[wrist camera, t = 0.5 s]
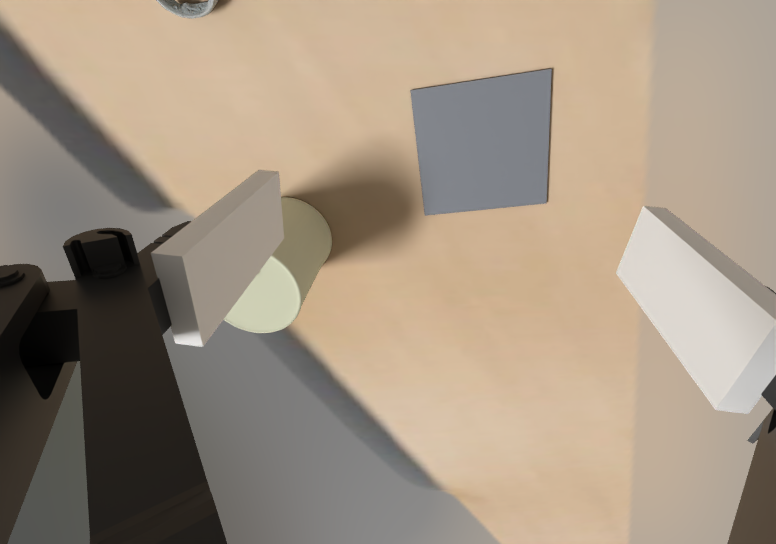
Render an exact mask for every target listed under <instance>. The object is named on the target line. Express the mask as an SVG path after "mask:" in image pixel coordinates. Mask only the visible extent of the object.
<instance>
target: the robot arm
mask: <svg viewBox="0 0 776 544" xmlns="http://www.w3.org/2000/svg"><path fill="white" fill-rule="evenodd" d="M283 239H284V230H283V217H282V205H281V192H280V179H279V172H277V171H266V170H258V171H257V172H255V173H254V174H253V175H251V176H250V177H249V178H248V179H246V180H245V181H244V182H242V183H241V184H240V185H238V186H237V187H236V188H235V189H233V190H232V191H231V192H229V193H228V194H227V195H225V196H224V197H223V198H222V199H220V200H219V201H218V202H216V203H215V204H214V205H212V206H211V207H210V208H209V209H207V210H206V211H205V212H203V213H202V214H201V215H199V216H198V217H197V218H196V219H194V220H193V221H187V222H185V223H182V224H180V225H177V226H175V227H172V228H171V229H170V230H168V231H167V232H166V233H164V234H163V235H162V237H159V238H157V239H156V240H155V241H154V243H151V244H149V245H148V246H147V247H145V248H144V249H143V250H141V251H140V252H139V253H137V251H136V248H135V245H134V241H133V238H132V235H131V233H130V232H129V231H127V230H124V229H120V228H103V229H95V230H91V231H86V232H83V233H80V234H78V235H75V236H73V237H71V238H70V239H68V240H67V241H66V242H65V243H64V245H63V248H64V250H65V253H66V255H67V258H68V261H69V263H70V266H71V268H72V271H73V273H74V276H75V279H76V280H70V281H57V282H56V281H55V282H47V281H46V279H45V277H44V275H43V272H42V270H41V269H40V268H39V267H38V266H35V265H30V264H15V265H9V266H8V265H4V266H0V544H7V543H8V540H9V537H10V535H11V532H12V530H13V527H14V524H15V522H16V519H17V517H18V514H19V512H20V509H21V506H22V504H23V501H24V498H25V496H26V493H27V491H28V488H29V486H30V483H31V480H32V478H33V475H34V472H35V470H36V467H37V465H38V462H39V459H40V457H41V454H42V452H43V449H44V447H45V444H46V441H47V439H48V436H49V434H50V431H51V428H52V426H53V423H54V420H55V418H56V415H57V413H58V410H59V408H60V405H61V402H62V400H63V397H64V395H65V392H66V389H67V387H68V384H69V381H70V378H71V376H72V374H73V371H74V368H75V366H76V363H77V361H80V366H81V367H80V368H81V386H82V402H83V419H84V420H83V421H84V439H85V456H86V474H87V491H88V509H89V525H90V526H89V527H90V544H227V542H226V538H225V535H224V532H223V529H222V525H221V522H220V519H219V516H218V512H217V509H216V506H215V503H214V500H213V497H212V494H211V492H210V488H209V485H208V482H207V479H206V476H205V472H204V469H203V466H202V463H201V459H200V457H199V453H198V450H197V447H196V443H195V440H194V437H193V433H192V430H191V427H190V424H189V421H188V418H187V414H186V411H185V408H184V405H183V401H182V398H181V395H180V391H179V388H178V385H177V382H176V379H175V375H174V372H173V369H172V366H171V362H170V359H169V356H168V353H167V349H166V346H165V343H164V340H163V336H162V335H163V334H164V333H165V332H166V331H167V329H168V328H169V327H170V326H171V329H172V333H173V336H174V340H175V343H177V344H184V345H192V346H201V347H203V346H204V345H205V343H206V342H207V341H208V339H209V338H210V337H211V335H212V334H213V333H214V331H215V330H216V329H217V327H218V326H219V325H220V323H221V322H222V321H223V319H224V318H225V317H226V315H227V314H228V313H229V311H230V310H231V309H232V307H233V306H234V305H235V303H236V302H237V301H238V299H239V298H240V297H241V295H242V294H243V293H244V291H245V290H246V289H247V287H248V286H249V285H250V283H251V282H252V281H253V279H254V278H255V277H256V275H257V274H258V273H259V271H260V270H261V269H262V267H263V266H264V265H265V263H266V262H267V261H268V259H269V258H270V257H271V255H272V254H273V253H274V251H275V250H276V249H277V247H278V246H279V245H280V243H281V242H282V241H283ZM616 274H617V275H618V276H619V278H620V279H621V281H622V282H623V283H624V285H625V286H626V287H627V289H628V290H629V292H630V293H631V294H632V296H633V297H634V298H635V300H636V301H637V303H638V304H639V305H640V307H641V308H642V309H643V311H644V312H645V314H646V315H647V316H648V318H649V319H650V320H651V322H652V323H653V324H654V326H655V327H656V329H657V330H658V331H659V333H660V334H661V335H662V337H663V338H664V340H665V341H666V342H667V344H668V345H669V346H670V347H671V349H672V350H673V352H674V353H675V355H676V356H677V358H678V359H679V360H680V361H681V363H682V364H683V366H684V367H685V369H686V370H687V371H688V373H689V374H690V375H691V377H692V378H693V379H694V381H695V382H696V384H697V385H698V386H699V388H700V389H701V391H702V392H703V393H704V394H705V396H706V397H707V399H708V400H709V402H710V403H711V404H712V405H713V407H714V408H715V410H721V411H729V412H737V413H746V414H748V413H749V412H750V411H751V409H752V408H753V407H754V405H755V404H756V403H757V402H758V400H759V399H760V398H761V396H763V397H764V398H765V399H766V400H767V401H768V403H769V404H770V405H771V406H772V407H773V409H772V410H771V412H770V413H769V414H768V416H767V417H766V418H765V419H764V420H763V422H762V423H761V424H760V425H759V427H758V428H757V429H756V431H755V432H754V433H753V434H752V435H751V437H750V438H749V439H748V441H749V442H751V443H754V442H755V441H756V440H758V442H757V445H756V449H755V452H754V455H753V459H752V462H751V466H750V469H749V472H748V476H747V479H746V483H745V486H744V490H743V493H742V496H741V500H740V503H739V507H738V510H737V513H736V517H735V520H734V523H733V527H732V530H731V534H730V537H729V540H728V544H776V293H775V292H774V291H773V290H771V289H770V288H768V287H766V286H765V285H763V284H762V283H761V282H759V281H758V280H757V279H756V278H754V277H753V276H752V275H751V274H749V273H748V272H747V271H745V270H744V269H743V268H742V267H740V266H739V265H737V264H736V263H735V262H734V261H733V260H731V259H730V258H729V257H728V256H726V255H725V254H724V253H723V252H721V251H720V250H719V249H717V248H716V247H715V246H714V245H712V244H711V243H710V242H708V241H707V240H706V239H705V238H703V237H702V236H701V235H699V234H698V233H697V232H696V231H694V230H693V229H692V228H691V227H689V226H688V225H687V224H685V223H684V222H683V221H682V220H680V219H679V218H678V217H676V216H675V215H674V214H673V213H671V212H670V211H669V210H668V209H666V208H660V207H649V206H643V208H642V210H641V213H640V215H639V218H638V220H637V223H636V225H635V227H634V230H633V232H632V235H631V237H630V240H629V242H628V245H627V247H626V250H625V252H624V254H623V257H622V259H621V262H620V264H619V267H618V269H617V272H616Z"/></svg>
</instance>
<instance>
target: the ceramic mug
mask: <svg viewBox="0 0 776 544" xmlns="http://www.w3.org/2000/svg"><path fill="white" fill-rule="evenodd" d="M156 1H157V2H158V3H159V4H160V5H161V6H162V7H164V8H165V9H166V10H168V11H170V12H171V13H173V14H175V15H178V16H180V17H184V18H199V17H203V16H205V15H207V14H209V13H210V12H211V11H212V9H213V8H214V6H215V5H216V3H217V2H218V0H208V2H202V3H198V4H189V3H183V4H180V3H178V2H176V1H175V0H156Z"/></svg>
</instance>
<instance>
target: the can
mask: <svg viewBox="0 0 776 544" xmlns="http://www.w3.org/2000/svg"><path fill="white" fill-rule="evenodd" d="M281 205H282V217H283V230H284V239H283V241H282V242H281V243H280V245H279V246H278V247H277V249H276V250H275V251H274V253H273V254H272V255H271V257H270V258H269V259H268V261H267V262H266V263H265V265H264V266H263V267H262V269H261V270H260V271H259V273H258V274H257V275H256V277H255V278H254V279H253V281H252V282H251V283H250V285H249V286H248V287H247V289H246V290H245V291H244V293H243V294H242V295H241V297H240V298H239V299H238V301H237V302H236V303H235V305H234V306H233V307H232V309H231V310H230V311H229V313H228V314H227V315H226V317H225V318H224V319H223V320H225V321H226V322H228V323H230V324H231V325H233V326H235V327H237V328H240V329H243V330H245V331H250V332H255V333H270V332H275V331H278V330H281V329H283V328H285V327H287V326H288V325H290V324H291V323H292V322H293V321H294V320H295V319H296V317H297V316H298V314H299V312H300V309H301V306H302V304H303V302H304V300H305V298H306V295H307V293H308V291H309V289H310V287H311V285H312V284H313V282H314V280H315V278H316V276H317V274H318V272H319V270H320V268H321V266H322V265H323V263H324V262H325V261H326V260H327V258H328V256H329V254H330V251H331V247H332V236H331V231H330V228H329V226H328V224H327V222H326V220H325V219H324V217H323V216H322V215H321V214H320V213H319V212H318V211H317V210H316V209H315V208H314V207H312V206H311V205H309V204H307V203H306V202H303V201H301V200H298V199H294V198H287V197H282V198H281Z"/></svg>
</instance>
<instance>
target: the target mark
mask: <svg viewBox="0 0 776 544" xmlns="http://www.w3.org/2000/svg"><path fill="white" fill-rule="evenodd" d="M551 72H552V69H546V70H539V71H533V72H526V73H520V74H513V75H507V76H500V77H494V78H487V79H481V80H474V81H468V82H461V83H455V84H448V85H442V86H435V87H429V88H422V89H416V90H411V99H412V108H413V116H414V125H415V134H416V142H417V151H418V160H419V168H420V177H421V186H422V194H423V203H424V212H425V215H435V214H445V213H455V212H465V211H475V210H485V209H495V208H505V207H515V206H525V205H534V204H544V203H546V202H547V176H548V150H549V124H550V98H551Z"/></svg>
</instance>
